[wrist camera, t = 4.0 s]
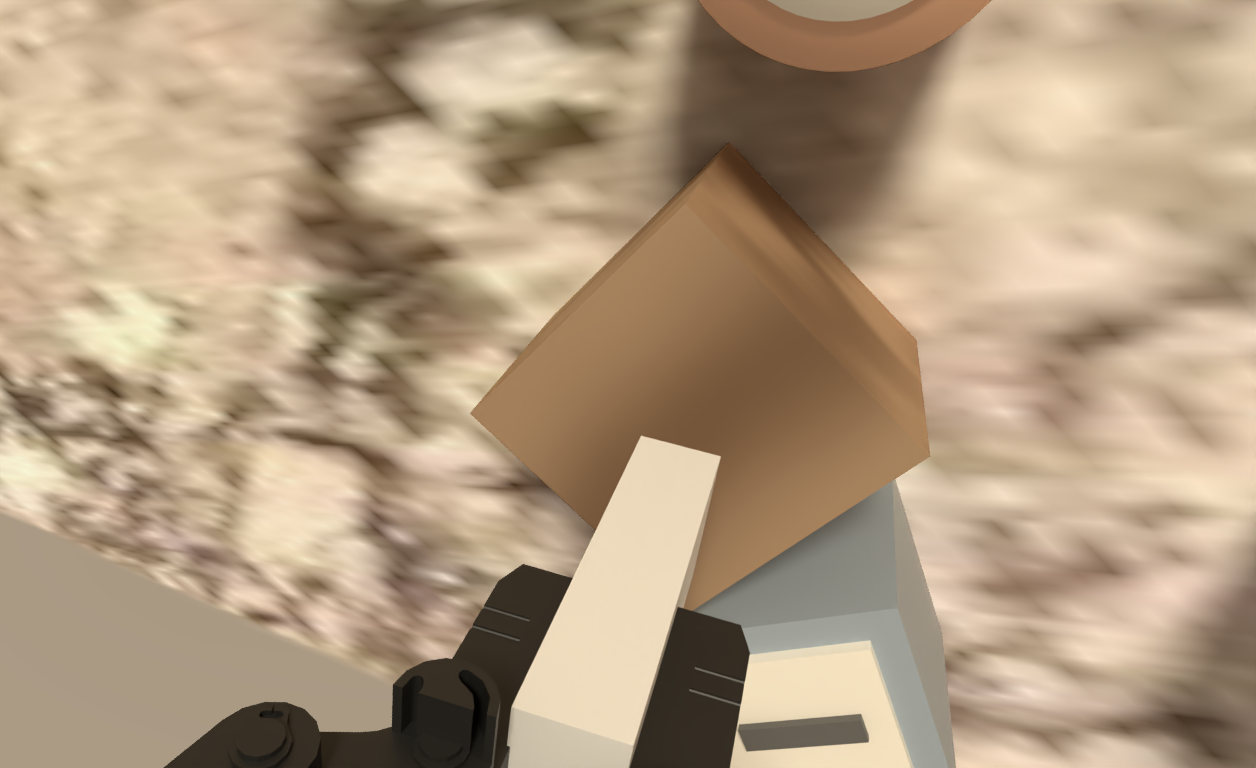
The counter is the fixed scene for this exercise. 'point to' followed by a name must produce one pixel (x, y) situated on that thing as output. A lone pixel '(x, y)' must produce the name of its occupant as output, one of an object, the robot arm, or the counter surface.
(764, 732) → the slate block
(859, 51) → the terracotta cylinder
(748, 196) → the walnut block
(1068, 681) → the counter surface
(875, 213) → the counter surface
